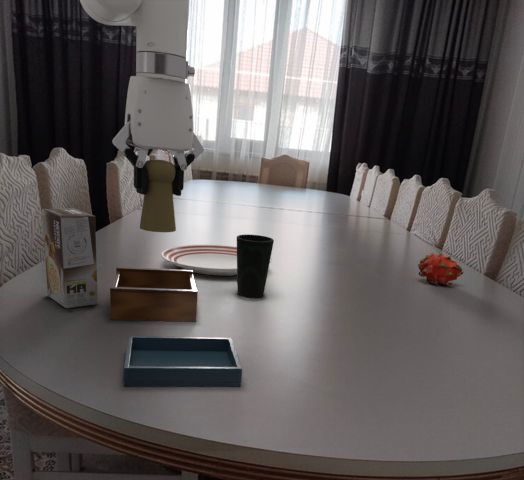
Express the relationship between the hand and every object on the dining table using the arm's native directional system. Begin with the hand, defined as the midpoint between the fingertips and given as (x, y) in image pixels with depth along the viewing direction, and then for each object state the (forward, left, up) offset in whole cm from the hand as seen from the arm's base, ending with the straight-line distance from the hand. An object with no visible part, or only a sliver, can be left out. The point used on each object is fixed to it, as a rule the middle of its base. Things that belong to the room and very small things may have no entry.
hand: (158, 192), depth 85 cm
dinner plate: (+15, +38, -21) cm, 46 cm away
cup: (+20, +15, -21) cm, 33 cm away
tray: (+4, -23, -21) cm, 31 cm away
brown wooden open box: (0, +4, -21) cm, 22 cm away
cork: (0, 0, -6) cm, 6 cm away
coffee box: (-15, +7, -21) cm, 27 cm away
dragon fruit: (+73, +32, -21) cm, 82 cm away
